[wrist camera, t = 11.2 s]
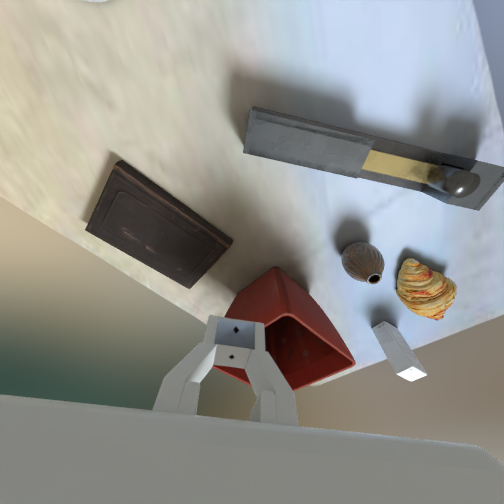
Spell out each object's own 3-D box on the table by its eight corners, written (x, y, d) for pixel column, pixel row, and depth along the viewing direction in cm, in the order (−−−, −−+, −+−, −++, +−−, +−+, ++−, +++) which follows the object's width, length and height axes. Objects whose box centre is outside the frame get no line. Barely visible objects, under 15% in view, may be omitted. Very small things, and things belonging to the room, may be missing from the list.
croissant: (381, 253, 48) (380, 281, 43) (439, 242, 40) (444, 275, 36) (413, 305, 56) (415, 333, 51) (466, 304, 49) (473, 336, 44)
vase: (345, 234, 41) (364, 260, 34) (378, 239, 42) (404, 266, 34) (332, 262, 45) (347, 291, 37) (363, 266, 45) (383, 296, 38)
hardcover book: (192, 282, 50) (189, 289, 48) (92, 224, 42) (84, 230, 40) (233, 238, 43) (232, 244, 41) (123, 159, 35) (116, 161, 33)
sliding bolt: (319, 159, 33) (333, 169, 26) (327, 136, 31) (344, 142, 25) (445, 188, 35) (486, 204, 29) (459, 168, 33) (506, 180, 27)
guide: (244, 151, 33) (241, 157, 28) (251, 106, 30) (250, 104, 25) (448, 197, 37) (478, 210, 32) (475, 161, 33) (513, 169, 28)
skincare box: (370, 328, 56) (395, 374, 46) (384, 319, 55) (413, 366, 45) (384, 336, 58) (411, 382, 48) (398, 328, 56) (429, 375, 46)
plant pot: (330, 295, 50) (359, 366, 36) (271, 330, 58) (275, 399, 44) (278, 246, 43) (288, 311, 29) (218, 293, 51) (203, 362, 37)
